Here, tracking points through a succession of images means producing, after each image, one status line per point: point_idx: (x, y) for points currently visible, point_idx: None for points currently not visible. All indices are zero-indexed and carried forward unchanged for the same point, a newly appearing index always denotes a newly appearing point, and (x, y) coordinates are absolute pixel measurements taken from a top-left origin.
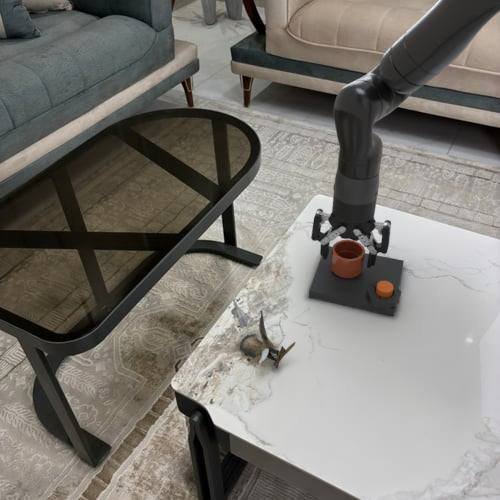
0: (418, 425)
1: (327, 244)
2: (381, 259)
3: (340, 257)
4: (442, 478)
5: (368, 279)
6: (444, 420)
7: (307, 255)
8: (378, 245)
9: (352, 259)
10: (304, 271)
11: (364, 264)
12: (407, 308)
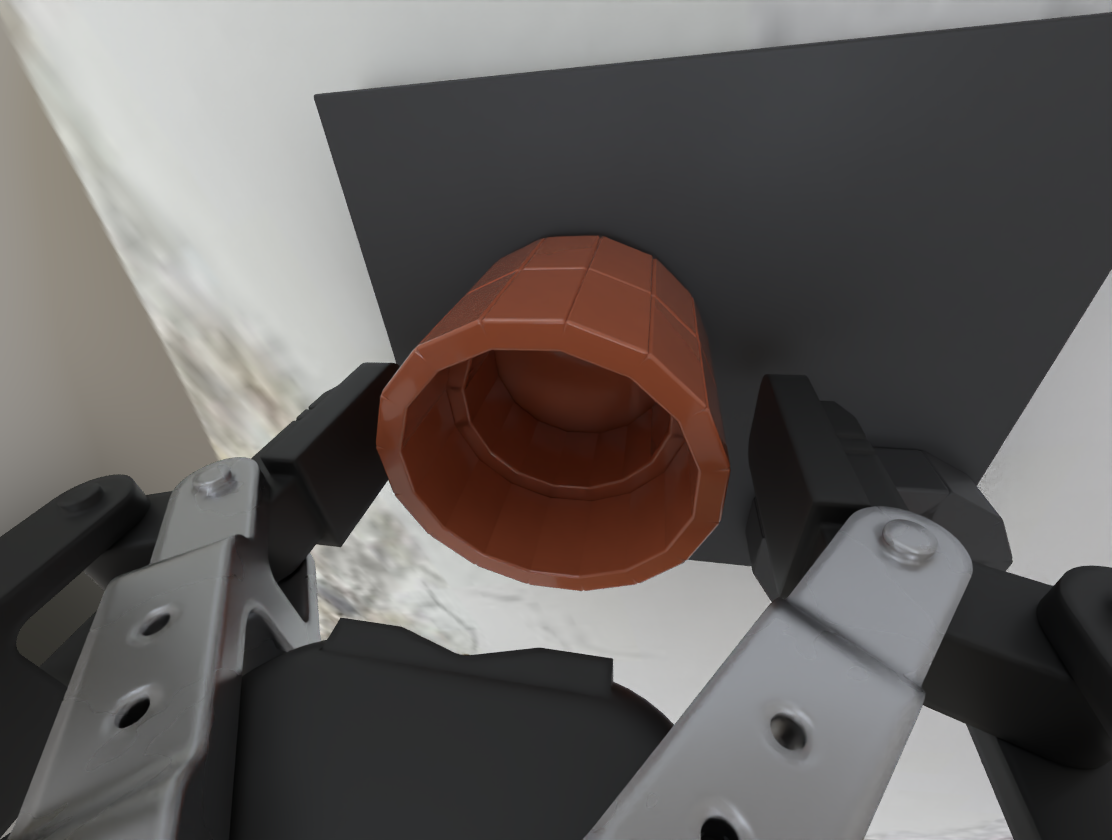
0: (889, 782)
1: (327, 531)
2: (919, 105)
3: (507, 571)
4: (916, 832)
5: None
6: (975, 782)
7: (280, 192)
8: (958, 685)
9: (612, 578)
10: (357, 350)
11: (721, 257)
12: (1004, 481)
